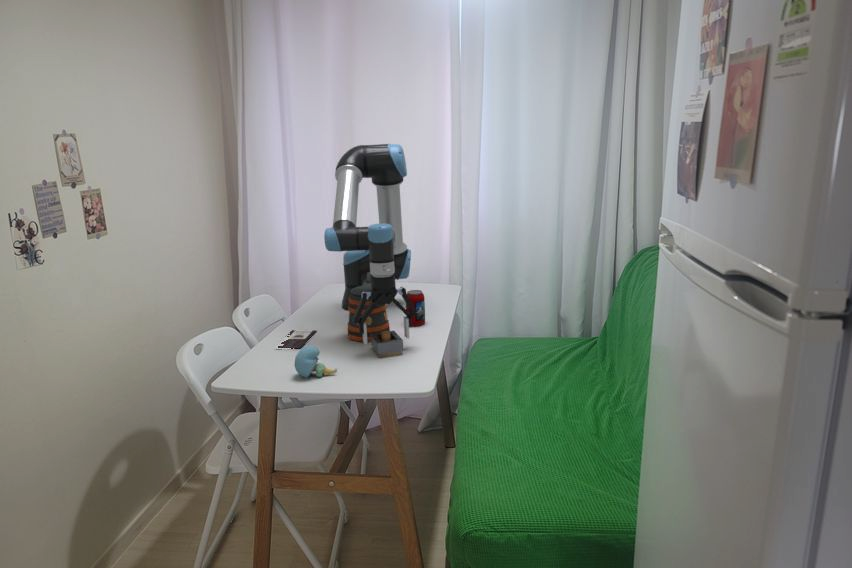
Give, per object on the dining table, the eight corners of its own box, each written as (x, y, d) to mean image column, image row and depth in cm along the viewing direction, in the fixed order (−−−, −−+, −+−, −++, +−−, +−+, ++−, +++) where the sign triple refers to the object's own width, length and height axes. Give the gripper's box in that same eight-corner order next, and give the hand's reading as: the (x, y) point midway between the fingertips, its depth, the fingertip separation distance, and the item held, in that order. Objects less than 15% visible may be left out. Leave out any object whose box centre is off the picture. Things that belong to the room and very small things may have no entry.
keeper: (372, 347, 197) (371, 329, 195) (393, 344, 199) (392, 326, 198) (380, 357, 188) (379, 338, 186) (402, 354, 190) (401, 335, 188)
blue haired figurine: (335, 352, 171) (292, 350, 170) (335, 381, 173) (292, 380, 173) (338, 343, 178) (297, 342, 177) (338, 372, 180) (297, 370, 180)
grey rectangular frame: (370, 344, 197) (370, 334, 196) (394, 340, 199) (394, 330, 198) (378, 354, 187) (377, 343, 186) (403, 350, 190) (402, 340, 189)
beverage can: (423, 327, 216) (422, 294, 213) (404, 326, 217) (403, 294, 214) (427, 321, 222) (425, 289, 219) (409, 320, 224) (407, 289, 221)
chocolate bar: (273, 347, 199) (291, 330, 216) (274, 350, 199) (292, 332, 216) (300, 348, 198) (316, 330, 215) (300, 350, 198) (316, 332, 215)
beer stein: (349, 326, 220) (345, 272, 216) (390, 323, 221) (387, 270, 216) (346, 343, 202) (342, 285, 197) (390, 341, 203) (387, 282, 198)
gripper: (345, 281, 180) (349, 349, 185) (425, 272, 188) (427, 338, 193) (340, 276, 187) (345, 341, 192) (417, 267, 195) (420, 331, 200)
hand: (386, 340), depth 193 cm, fingers open, 13 cm apart
